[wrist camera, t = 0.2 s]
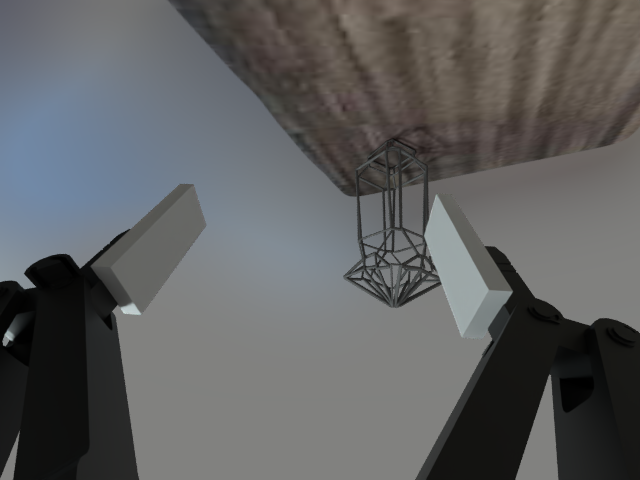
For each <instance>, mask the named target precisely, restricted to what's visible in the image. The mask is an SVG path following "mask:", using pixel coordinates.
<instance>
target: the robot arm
mask: <svg viewBox="0 0 640 480" xmlns="http://www.w3.org/2000/svg"><path fill="white" fill-rule="evenodd" d="M205 227H206V223H205V220H204V216H203V213H202V210H201V207H200V204H199V200H198V197H197V194H196V191H195V188H194V185H193V184H180V185H178V186H177V187H176V188H175V189H174V190H173V191H172V192H171V193H170V194H169V195H168V196H166V197H165V198H164V199H163V200H162V201H161V202H160V203H159V204H158V205H157V206H155V207H154V208H153V209H152V210H151V211H150V212H149V213H148V214H147V215H146V216H145V217H143V218H142V219H141V220H140V221H139V222H138V223H137V224H136V225H135V226H134V227H133V228H132V229H129V230H127V231H125V232H123V233H121V234H119V235H118V236H116V237H115V238H114V239H113V240H112V241H111V242H110V244H108V245H107V246H105V247H104V248H103V250H101V251H100V252H99V253H97V254H96V255H95V256H94V257H93V258H92V259H91V260H90V261H88V262H87V263H86V264H85V265H84V266H83V267H82V268H81V269H80V268H79V267H78V266H77V265H76V263H75V262H74V260H73V259H72V258H71V256H70V255H67V254H57V255H52V256H49V257H46V258H43V259H41V260H39V261H37V262H36V263H34V264H32V265H31V266H30V267H29V268H28V269H27V270H26V271H25V273H24V274H25V275H26V276H27V277H28V279H29V280H30V281H31V282H32V283H33V284H34V285H35V286H36V287H35V288H29V289H23V288H22V287H21V286H20V285H19V284H18V282H16V281H3V282H0V477H1V475H2V472H3V470H4V467H5V465H6V462H7V460H8V458H9V455H10V453H11V450H12V448H13V445H14V443H15V441H16V438H17V436H18V433H19V431H20V434H19V442H18V449H17V456H16V463H15V471H14V478H13V480H139V477H138V473H137V465H136V458H135V451H134V444H133V436H132V429H131V423H130V416H129V408H128V401H127V394H126V387H125V380H124V373H123V366H122V359H121V351H120V344H119V338H118V331H117V323H116V317H115V315H114V313H113V312H112V311H113V310H114V308H115V307H116V306H117V305H119V307H120V308H121V310H122V311H123V313H124V314H136V315H137V314H138V315H142V313H143V312H144V310H145V309H146V308H147V307H148V305H149V304H150V302H151V301H152V300H153V298H154V297H155V296H156V294H157V293H158V291H159V290H160V289H161V287H162V286H163V284H164V283H165V282H166V280H167V279H168V278H169V276H170V275H171V273H172V272H173V271H174V269H175V268H176V267H177V265H178V264H179V262H180V261H181V260H182V258H183V257H184V256H185V254H186V253H187V251H188V250H189V249H190V247H191V246H192V245H193V243H194V242H195V240H196V239H197V238H198V236H199V235H200V234H201V232H202V231H203V229H204V228H205ZM424 237H425V240H426V243H427V246H428V248H429V251H430V254H431V256H432V259H433V261H434V264H435V267H436V270H437V272H438V275H439V278H440V281H441V283H442V286H443V289H444V291H445V294H446V297H447V299H448V302H449V305H450V307H451V310H452V313H453V316H454V318H455V321H456V323H457V326H458V329H459V332H460V334H461V337H462V338H473V339H482V338H483V337H484V335H485V333H486V332H487V331H489V333H490V335H491V337H492V341H491V342H490V344H489V345H488V347H487V348H486V349H485V351H484V353H483V354H482V355H483V356H482V358H481V360H480V362H479V364H478V366H477V367H476V369H475V371H474V373H473V375H472V377H471V379H470V380H469V382H468V384H467V386H466V388H465V389H464V391H463V393H462V395H461V397H460V399H459V400H458V402H457V404H456V406H455V408H454V410H453V411H452V413H451V415H450V417H449V419H448V421H447V422H446V424H445V426H444V428H443V430H442V432H441V434H440V435H439V437H438V439H437V441H436V443H435V444H434V446H433V448H432V450H431V452H430V454H429V456H428V457H427V459H426V461H425V463H424V465H423V467H422V468H421V470H420V472H419V474H418V476H417V478H416V479H415V480H515V478H516V475H517V472H518V469H519V466H520V463H521V460H522V457H523V453H524V450H525V447H526V444H527V441H528V438H529V435H530V432H531V429H532V426H533V423H534V420H535V416H536V413H537V410H538V407H539V404H540V401H541V398H542V395H543V392H544V389H545V386H546V382H547V379H548V376H549V374H550V375H551V381H552V395H553V409H554V422H555V436H556V450H557V464H558V478H559V480H640V333H639V332H638V331H636V330H635V329H633V328H631V327H630V326H628V325H626V324H624V323H621V322H619V321H616V320H613V319H608V318H600V319H598V320H596V321H595V322H594V323H593V324H592V325H591V326H589V325H585V324H582V323H579V322H575V321H572V320H569V319H565V318H564V317H563V316H562V314H561V313H560V312H559V311H558V310H557V309H556V308H555V307H553V306H552V305H550V304H549V303H547V302H545V301H542V300H540V299H537V298H535V297H534V296H533V294H532V293H531V291H530V290H529V288H528V287H527V286H526V284H525V283H524V282H523V280H522V278H521V277H520V276H519V274H518V273H516V270H515V269H514V267H513V266H512V265H511V263H510V261H509V260H508V259H507V257H506V256H505V255H504V254H503V253H502V252H501V251H499V250H498V249H497V248H496V247H489V246H484V245H483V243H482V242H481V240H480V239H479V237H478V235H477V234H476V232H475V231H474V229H473V227H472V226H471V224H470V223H469V221H468V220H467V218H466V216H465V215H464V213H463V212H462V210H461V209H460V207H459V205H458V204H457V202H456V201H455V199H454V197H453V196H452V195H451V194H436V197H435V201H434V204H433V208H432V211H431V214H430V217H429V221H428V224H427V227H426V231H425V234H424ZM4 336H6V337H7V338H8V339H9V342H8V344H7V345H6V346H3V342H2V341H3V338H4Z"/></svg>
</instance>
